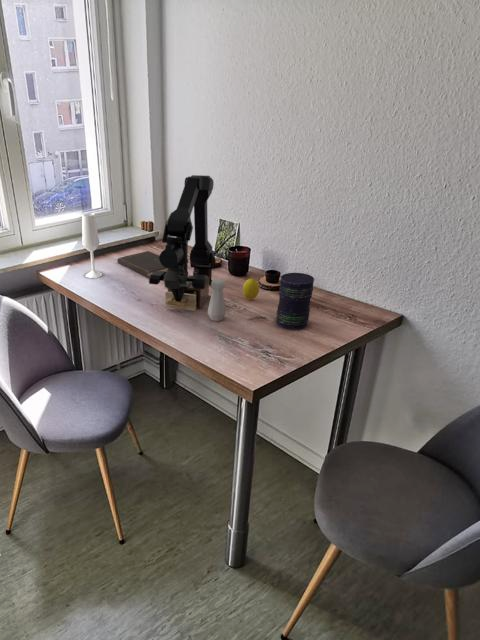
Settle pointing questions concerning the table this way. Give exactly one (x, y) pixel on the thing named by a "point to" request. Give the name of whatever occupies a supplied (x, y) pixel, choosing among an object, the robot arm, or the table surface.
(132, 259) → the hardcover book
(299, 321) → the storage jar
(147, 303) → the table surface
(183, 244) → the robot arm
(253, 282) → the lemon
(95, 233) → the champagne flute
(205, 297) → the cabinet
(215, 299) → the white bowling pin
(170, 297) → the drawer
